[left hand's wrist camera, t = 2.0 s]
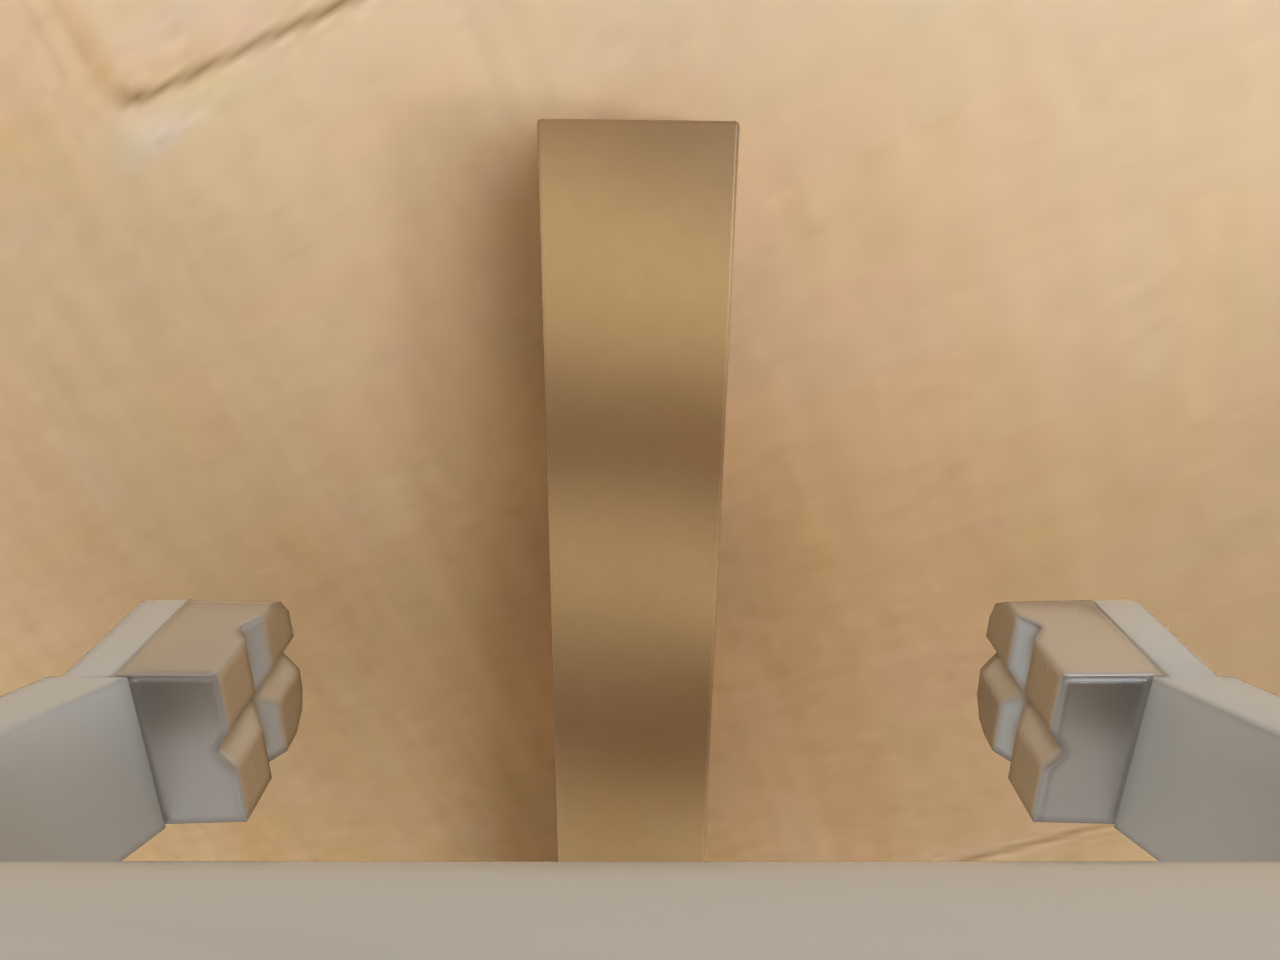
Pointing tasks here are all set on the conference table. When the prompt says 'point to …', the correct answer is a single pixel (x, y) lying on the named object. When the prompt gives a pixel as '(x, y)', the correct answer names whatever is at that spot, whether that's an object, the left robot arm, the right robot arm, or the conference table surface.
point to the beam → (634, 470)
